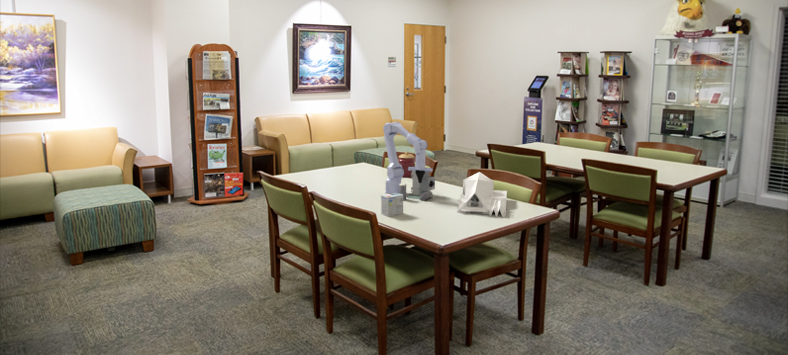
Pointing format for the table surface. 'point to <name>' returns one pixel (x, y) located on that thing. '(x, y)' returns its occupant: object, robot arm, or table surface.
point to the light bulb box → (392, 204)
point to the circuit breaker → (422, 184)
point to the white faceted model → (482, 196)
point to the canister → (406, 163)
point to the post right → (426, 195)
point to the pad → (414, 197)
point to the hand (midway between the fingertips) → (420, 182)
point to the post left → (403, 190)
